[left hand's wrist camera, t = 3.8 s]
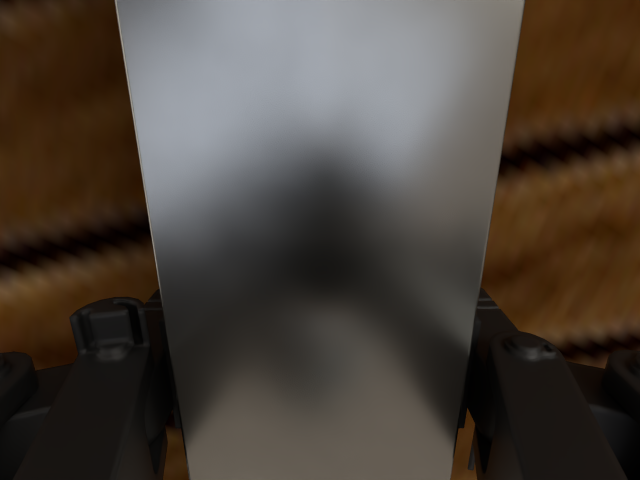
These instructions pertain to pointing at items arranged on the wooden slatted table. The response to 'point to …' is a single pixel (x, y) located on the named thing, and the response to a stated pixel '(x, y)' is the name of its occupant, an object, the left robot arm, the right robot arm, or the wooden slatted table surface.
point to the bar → (319, 222)
